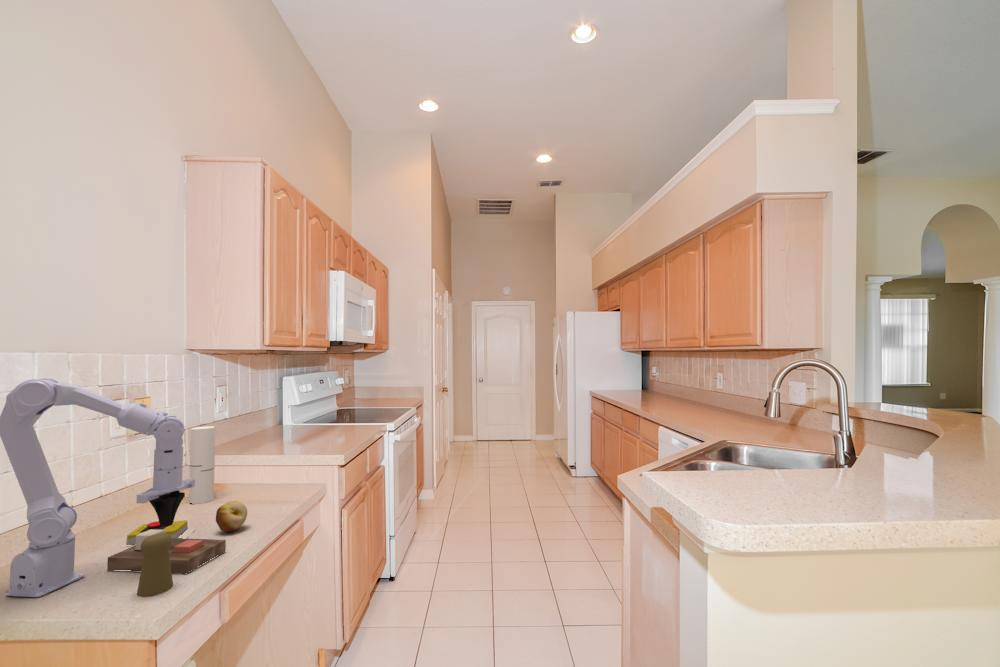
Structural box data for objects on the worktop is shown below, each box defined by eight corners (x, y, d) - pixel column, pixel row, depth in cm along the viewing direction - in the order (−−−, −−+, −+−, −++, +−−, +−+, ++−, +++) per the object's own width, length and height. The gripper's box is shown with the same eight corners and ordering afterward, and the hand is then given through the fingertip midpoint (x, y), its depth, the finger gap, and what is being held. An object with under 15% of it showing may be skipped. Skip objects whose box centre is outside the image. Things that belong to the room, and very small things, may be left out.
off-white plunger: (150, 550, 108) (151, 535, 109) (135, 549, 109) (135, 535, 109) (165, 543, 112) (165, 529, 113) (150, 543, 113) (150, 529, 113)
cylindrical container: (193, 499, 161) (194, 427, 163) (216, 497, 164) (217, 425, 165) (186, 505, 155) (187, 429, 156) (210, 502, 157) (211, 428, 158)
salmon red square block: (189, 561, 107) (189, 547, 107) (173, 561, 108) (173, 546, 108) (202, 554, 111) (202, 540, 111) (187, 553, 111) (187, 539, 112)
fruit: (212, 538, 124) (213, 507, 125) (218, 528, 132) (219, 499, 132) (244, 533, 127) (245, 504, 128) (248, 524, 135) (249, 496, 135)
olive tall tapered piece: (179, 582, 99) (181, 529, 100) (160, 596, 93) (161, 540, 94) (150, 583, 99) (152, 530, 99) (129, 597, 93) (130, 541, 93)
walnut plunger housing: (187, 574, 103) (187, 560, 103) (107, 570, 105) (107, 557, 105) (225, 552, 115) (225, 539, 115) (153, 549, 117) (153, 537, 117)
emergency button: (136, 520, 128) (197, 514, 132) (135, 536, 128) (197, 530, 132) (118, 531, 119) (184, 525, 123) (117, 549, 119) (184, 542, 123)
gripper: (157, 475, 104) (154, 537, 103) (206, 461, 118) (204, 516, 117) (129, 474, 104) (126, 536, 104) (181, 461, 119) (179, 515, 118)
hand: (166, 525), depth 110 cm, fingers closed
